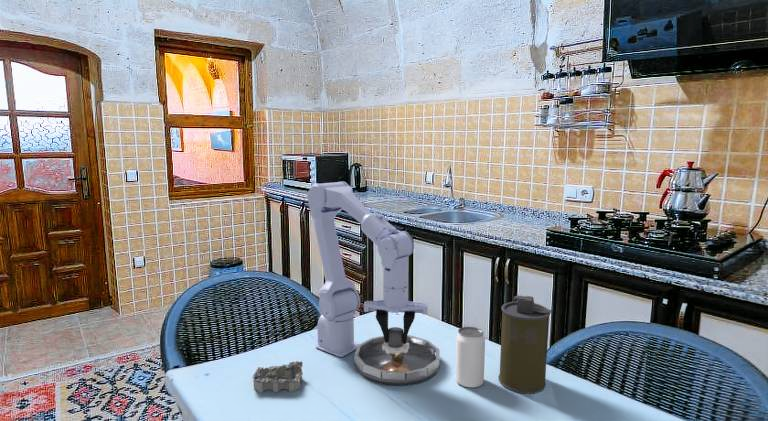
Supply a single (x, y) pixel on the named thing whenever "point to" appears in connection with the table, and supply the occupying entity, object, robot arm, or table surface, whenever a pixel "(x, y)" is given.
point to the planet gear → (395, 342)
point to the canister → (524, 345)
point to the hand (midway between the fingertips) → (395, 341)
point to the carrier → (397, 362)
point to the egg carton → (276, 372)
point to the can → (470, 357)
